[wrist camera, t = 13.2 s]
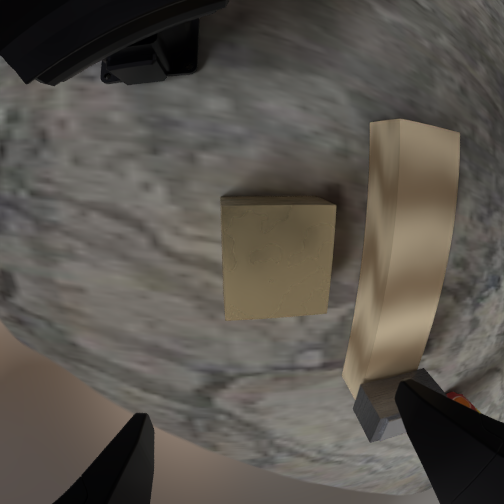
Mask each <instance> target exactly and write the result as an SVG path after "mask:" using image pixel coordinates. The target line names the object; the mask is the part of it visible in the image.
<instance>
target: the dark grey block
mask: <svg viewBox="0 0 504 504" xmlns="http://www.w3.org/2000/svg"><path fill="white" fill-rule="evenodd" d="M408 378H410V379H413V380H415V381H417V382H419V383H421V384H423V385H424V386H426V387H428V388H430V389H432V390H434V391H436V392H438V393H440V394H442V395H444V396H446V397H447V395H446V394H445V392H444V391H443V390H442V389H441V388H440V386H439V385H438V384H437V383H436V382H435V381H434V379H433V378H432V377H431V376H430V375H429V374H428V372H427V371H426V370H425V369H424V368H423V369H419V370H416V371H412V372H409V373H405V374H401V375H397V376H393V377H389V378H385V379H381V380H377V381H373V382H368V383H364V384H360V387H359V390H358V394H357V397H356V400H355V403H354V407H353V410H354V412H355V414H356V416H357V418H358V420H359V422H360V424H361V426H362V428H363V430H364V432H365V434H366V436H367V438H368V440H369V442H370V443H371V442H374V441H378V440H380V441H382V440H385V439H388V438H391V437H394V436H397V435H400V434H403V433H406V430H405V427H404V424H403V422H402V419H401V416H400V413H399V411H398V408H397V405H396V403H395V394H396V391H397V388H398V385H399V382H400V381H402V380H405V379H408Z"/></svg>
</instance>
